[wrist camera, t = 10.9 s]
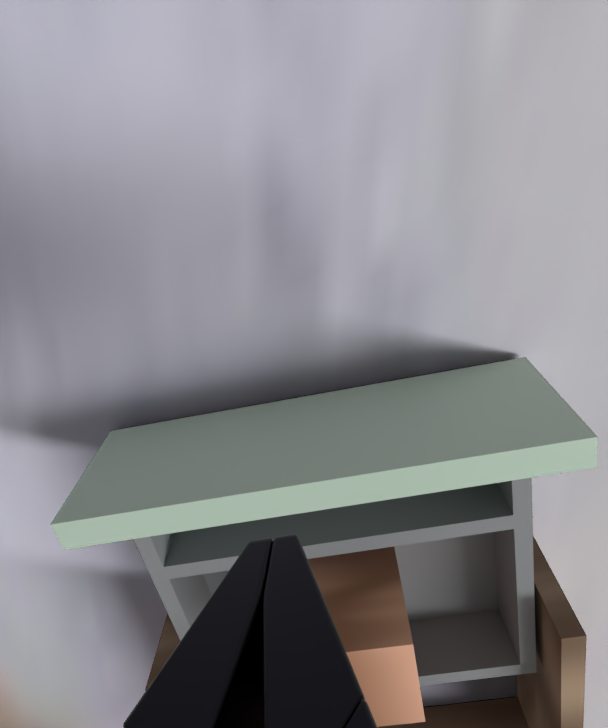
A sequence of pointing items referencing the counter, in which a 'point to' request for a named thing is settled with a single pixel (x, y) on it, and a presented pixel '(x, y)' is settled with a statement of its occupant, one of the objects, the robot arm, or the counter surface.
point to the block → (374, 630)
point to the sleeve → (535, 690)
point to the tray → (354, 499)
